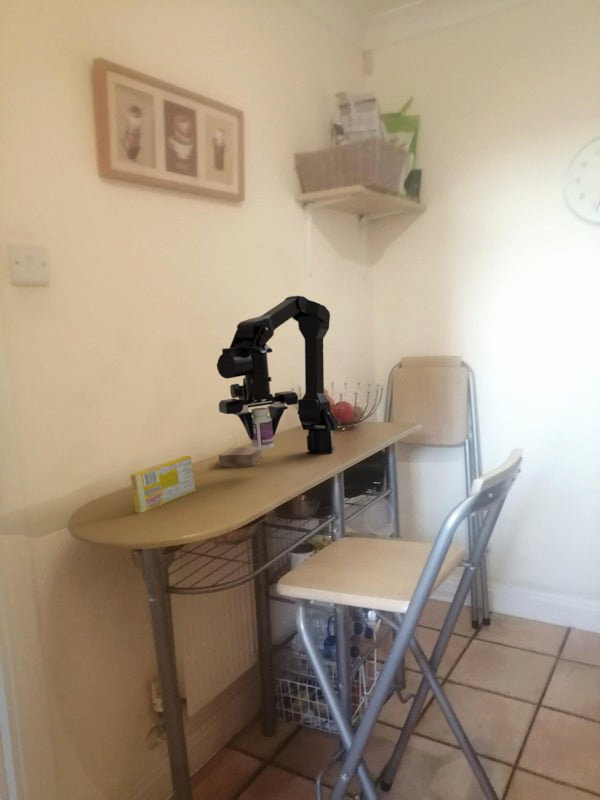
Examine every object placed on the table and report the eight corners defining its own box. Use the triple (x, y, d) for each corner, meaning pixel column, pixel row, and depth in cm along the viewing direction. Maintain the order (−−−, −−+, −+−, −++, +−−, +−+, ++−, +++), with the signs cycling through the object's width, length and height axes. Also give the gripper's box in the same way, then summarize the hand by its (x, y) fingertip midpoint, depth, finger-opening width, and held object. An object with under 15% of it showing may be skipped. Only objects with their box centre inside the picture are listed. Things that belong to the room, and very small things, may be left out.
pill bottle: (275, 445, 151) (272, 406, 150) (272, 449, 146) (269, 409, 145) (254, 446, 152) (250, 407, 151) (250, 450, 147) (246, 411, 145)
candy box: (189, 491, 139) (185, 455, 138) (196, 491, 138) (192, 455, 137) (134, 512, 126) (129, 473, 125) (141, 513, 125) (136, 474, 124)
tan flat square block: (262, 457, 167) (261, 446, 167) (252, 465, 158) (251, 454, 158) (230, 458, 169) (229, 447, 169) (219, 466, 160) (218, 455, 160)
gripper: (277, 368, 158) (282, 427, 160) (208, 376, 150) (214, 439, 152) (297, 369, 148) (302, 433, 150) (224, 378, 140) (230, 445, 142)
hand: (262, 437), depth 149 cm, fingers closed on pill bottle, 5 cm apart
